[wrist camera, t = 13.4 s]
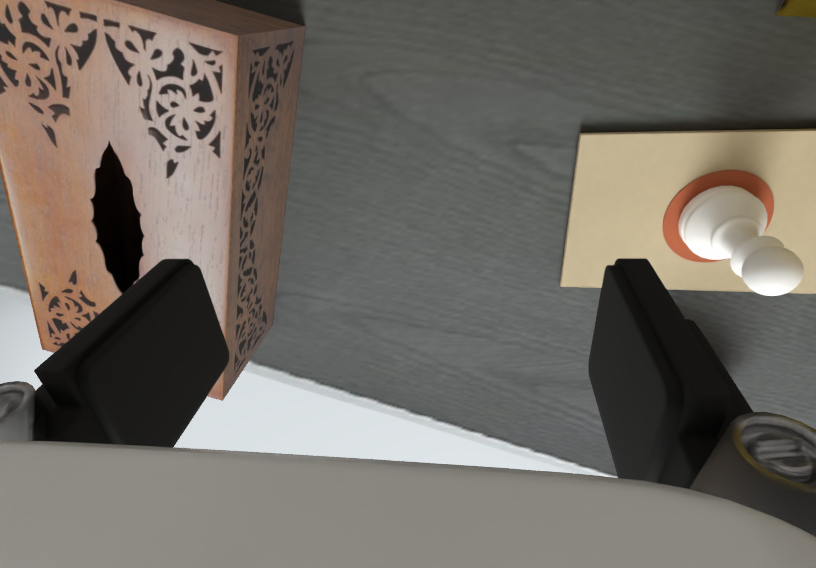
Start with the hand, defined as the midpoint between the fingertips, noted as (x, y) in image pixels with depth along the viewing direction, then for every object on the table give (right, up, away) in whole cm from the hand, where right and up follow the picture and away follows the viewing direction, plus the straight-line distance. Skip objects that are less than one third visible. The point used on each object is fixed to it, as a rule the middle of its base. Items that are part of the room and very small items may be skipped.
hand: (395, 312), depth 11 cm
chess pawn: (+22, +5, +22) cm, 32 cm away
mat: (+22, +6, +23) cm, 32 cm away
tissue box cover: (-17, +9, +27) cm, 33 cm away
